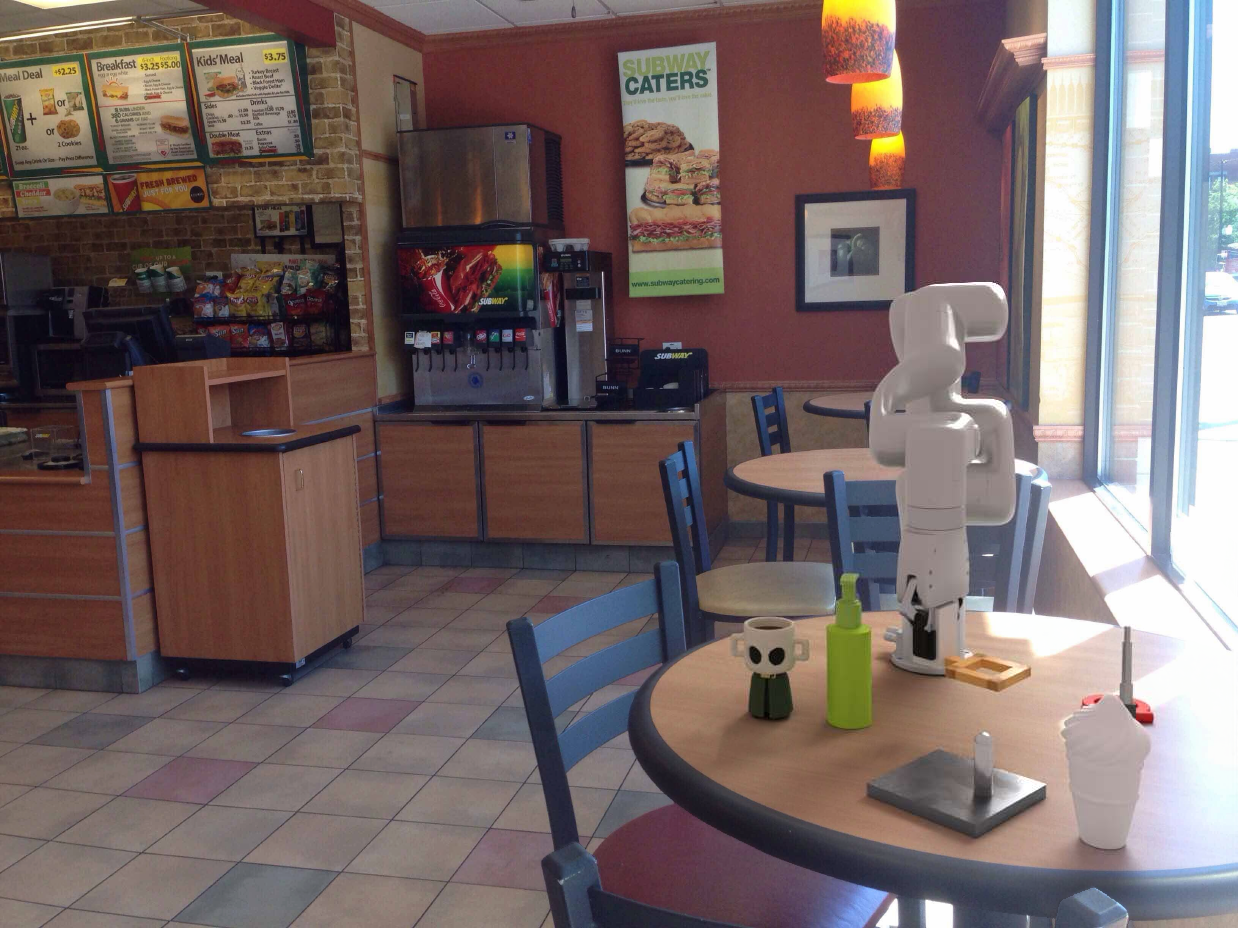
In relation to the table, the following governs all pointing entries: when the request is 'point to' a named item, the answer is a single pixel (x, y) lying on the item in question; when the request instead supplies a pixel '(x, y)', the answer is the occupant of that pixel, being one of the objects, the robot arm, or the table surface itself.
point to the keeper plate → (958, 789)
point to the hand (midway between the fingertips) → (934, 651)
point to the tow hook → (1126, 685)
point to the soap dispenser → (849, 662)
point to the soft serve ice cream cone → (1105, 769)
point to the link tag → (966, 667)
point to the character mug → (770, 663)
